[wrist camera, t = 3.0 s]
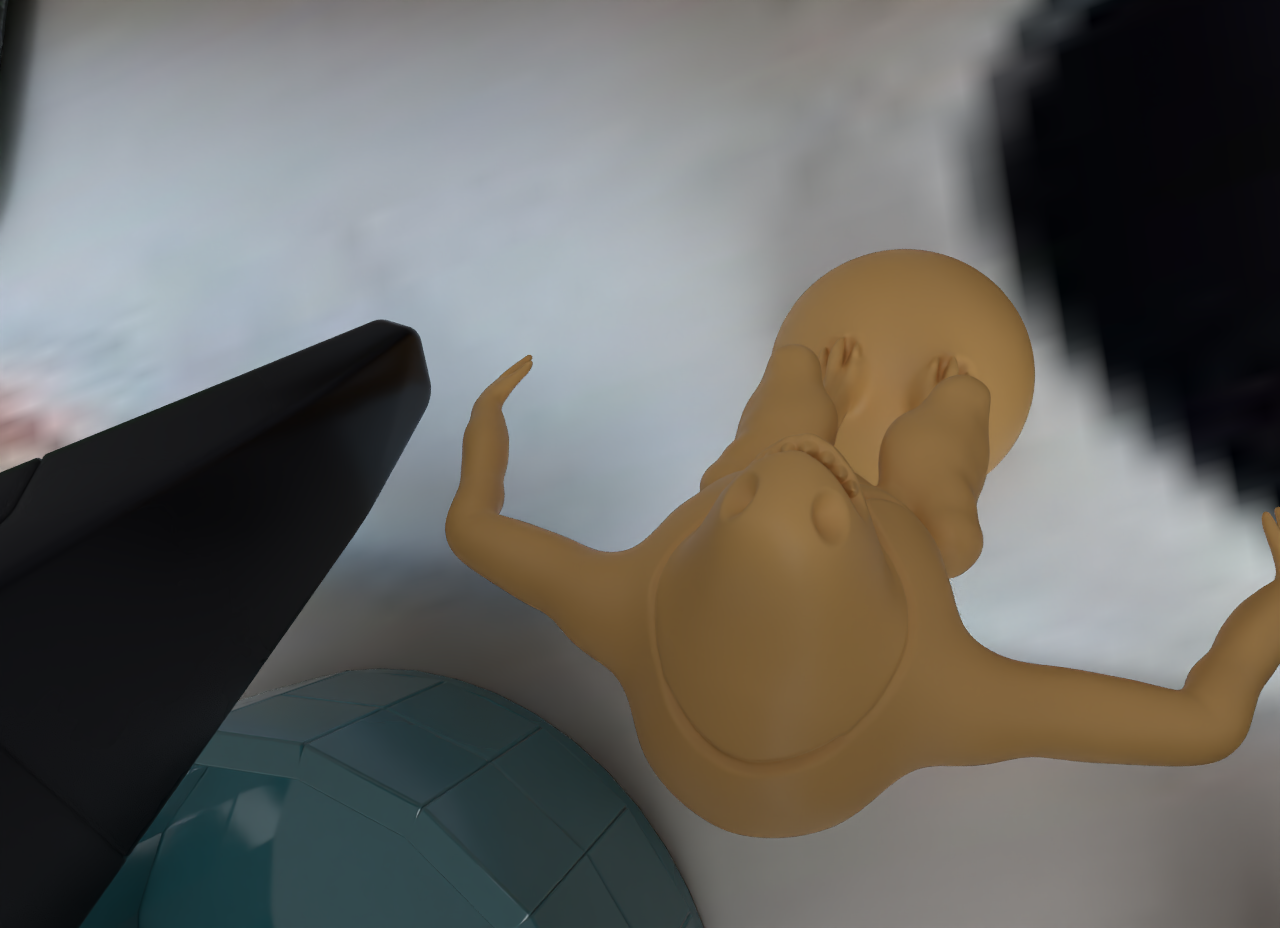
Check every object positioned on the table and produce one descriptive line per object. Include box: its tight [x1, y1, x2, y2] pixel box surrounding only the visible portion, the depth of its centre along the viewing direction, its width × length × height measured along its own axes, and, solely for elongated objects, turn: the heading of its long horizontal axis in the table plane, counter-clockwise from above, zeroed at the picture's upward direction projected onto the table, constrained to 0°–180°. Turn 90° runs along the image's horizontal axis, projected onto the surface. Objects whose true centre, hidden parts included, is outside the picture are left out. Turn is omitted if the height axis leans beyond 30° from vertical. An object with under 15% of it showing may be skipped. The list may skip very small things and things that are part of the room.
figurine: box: [445, 249, 1280, 838], centre depth 11 cm, size 8×6×12 cm
